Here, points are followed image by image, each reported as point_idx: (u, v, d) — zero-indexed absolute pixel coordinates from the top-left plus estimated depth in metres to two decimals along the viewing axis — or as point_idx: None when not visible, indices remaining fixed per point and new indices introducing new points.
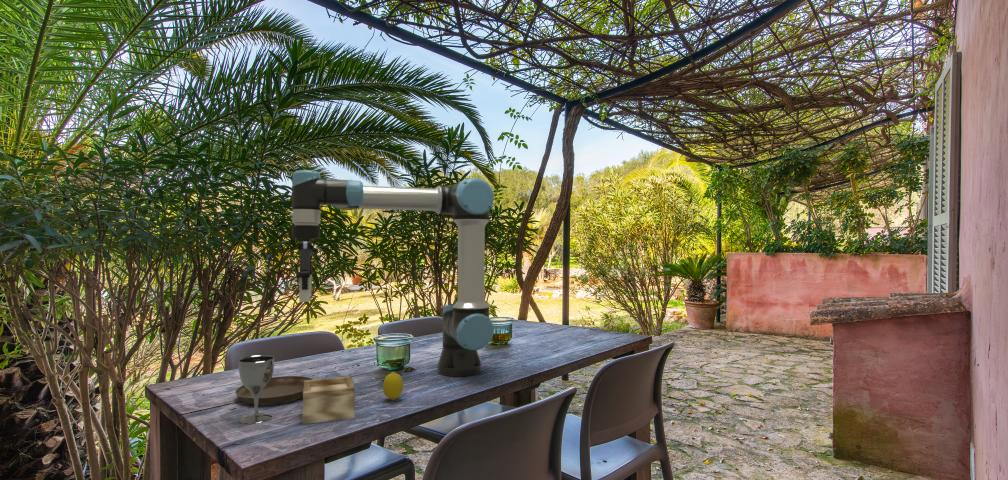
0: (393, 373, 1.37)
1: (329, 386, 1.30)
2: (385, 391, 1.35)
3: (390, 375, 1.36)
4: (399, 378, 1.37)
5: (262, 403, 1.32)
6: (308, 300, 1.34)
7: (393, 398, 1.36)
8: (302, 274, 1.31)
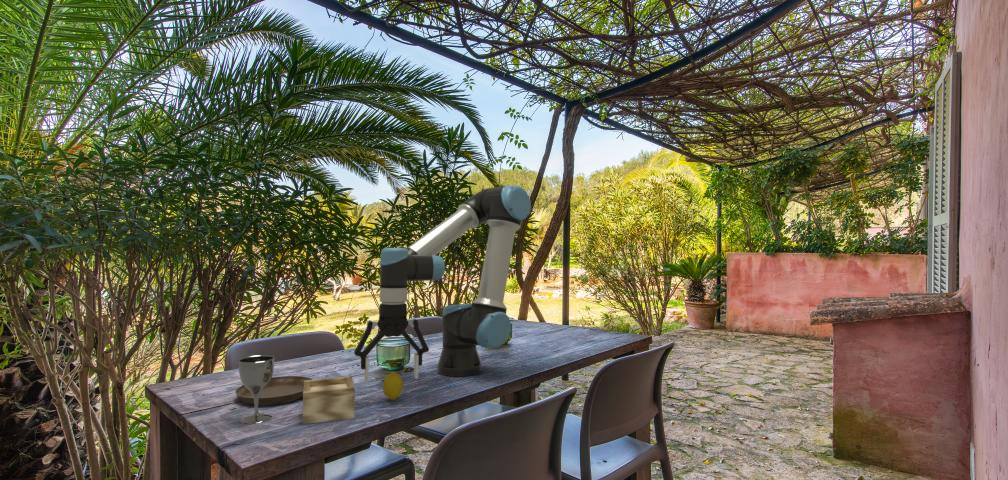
0: (393, 373, 1.37)
1: (329, 386, 1.30)
2: (385, 391, 1.35)
3: (390, 375, 1.36)
4: (399, 378, 1.37)
5: (263, 403, 1.32)
6: (365, 380, 1.34)
7: (393, 398, 1.36)
8: None
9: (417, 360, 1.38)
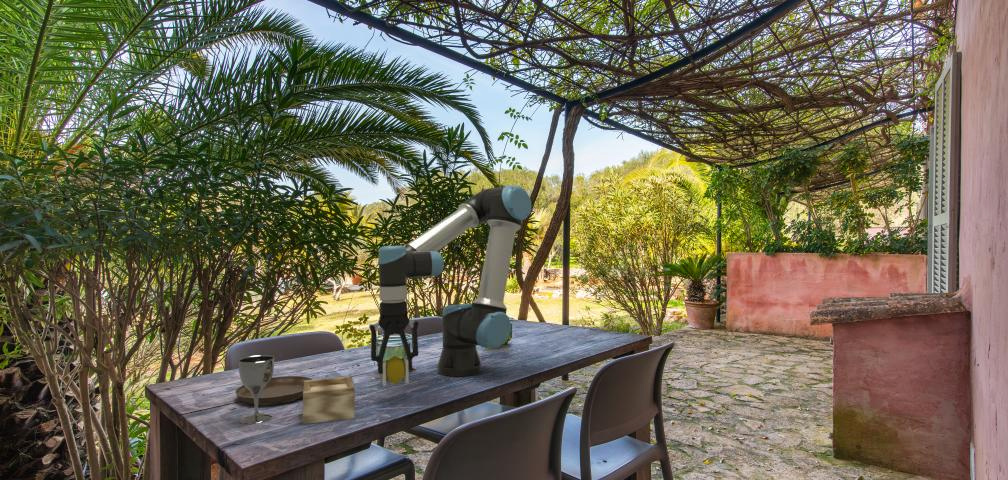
0: (395, 357, 1.37)
1: (329, 386, 1.30)
2: (387, 375, 1.36)
3: (392, 359, 1.37)
4: (401, 362, 1.37)
5: (263, 403, 1.32)
6: (383, 384, 1.36)
7: (395, 382, 1.37)
8: None
9: (407, 365, 1.38)
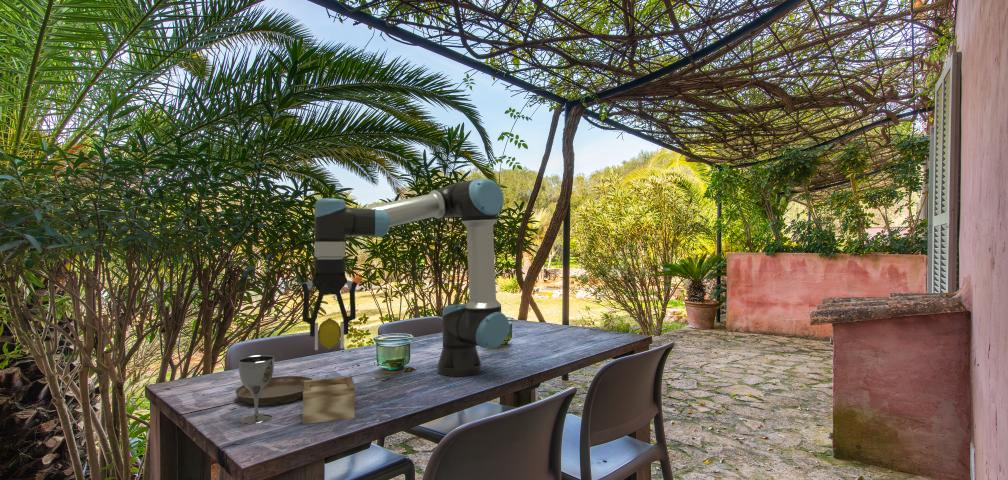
0: (329, 319, 1.27)
1: (329, 386, 1.30)
2: (319, 338, 1.25)
3: (326, 321, 1.26)
4: (335, 324, 1.26)
5: (262, 403, 1.32)
6: None
7: (329, 346, 1.26)
8: None
9: (342, 328, 1.27)
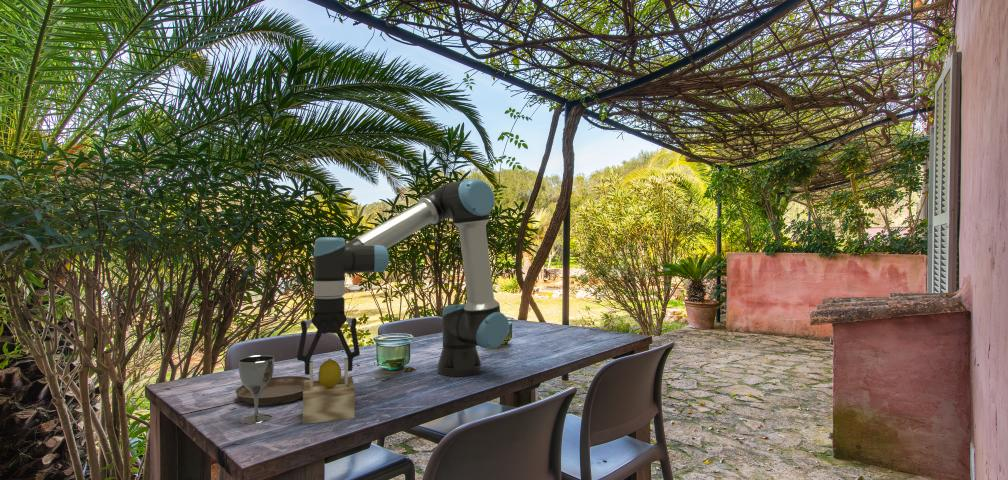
0: (330, 360, 1.27)
1: None
2: (320, 379, 1.25)
3: (326, 362, 1.26)
4: (336, 365, 1.26)
5: (262, 403, 1.32)
6: None
7: (329, 387, 1.26)
8: None
9: (346, 365, 1.27)
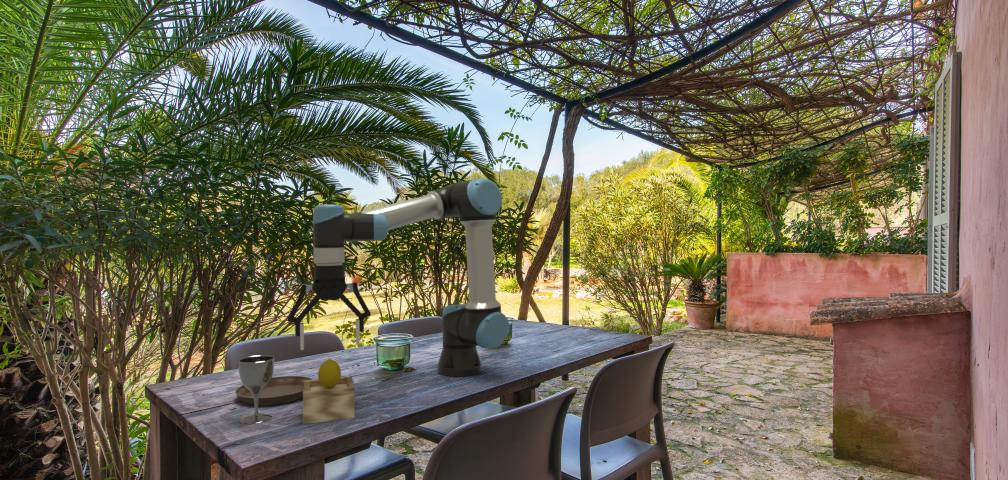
0: (329, 360, 1.26)
1: None
2: (320, 379, 1.25)
3: (326, 362, 1.26)
4: (336, 365, 1.26)
5: (262, 403, 1.32)
6: (300, 348, 1.24)
7: (329, 387, 1.26)
8: None
9: (358, 325, 1.28)
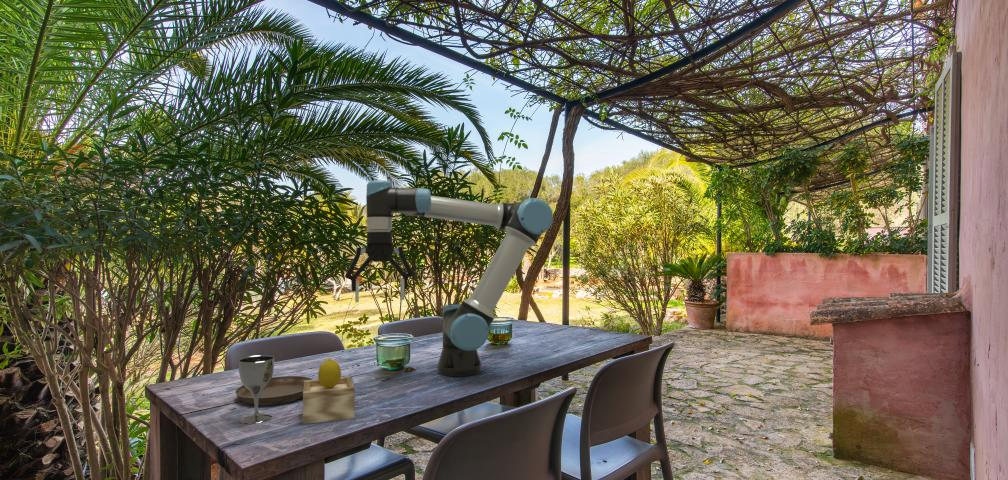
0: (329, 360, 1.26)
1: None
2: (320, 379, 1.25)
3: (326, 362, 1.26)
4: (336, 365, 1.26)
5: (262, 403, 1.32)
6: (355, 301, 1.47)
7: (329, 387, 1.26)
8: None
9: (403, 283, 1.52)
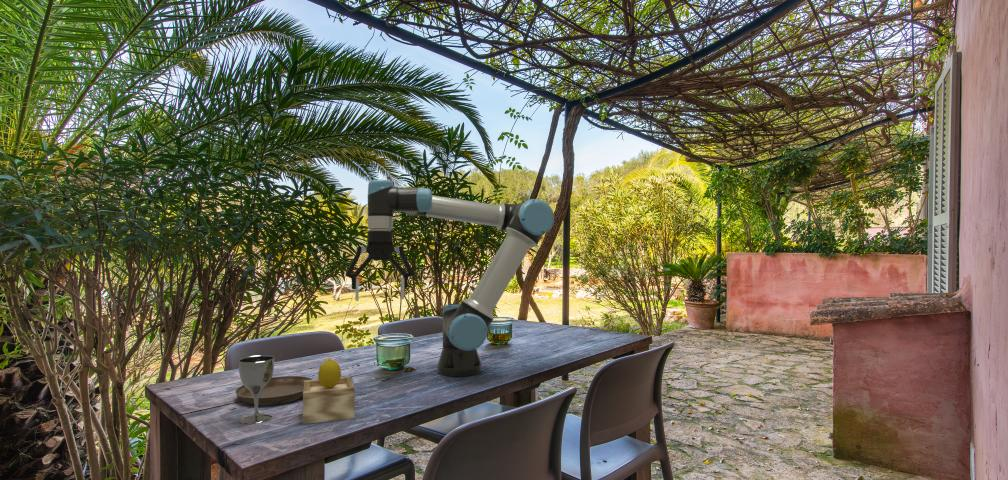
0: (329, 360, 1.26)
1: None
2: (320, 379, 1.25)
3: (326, 362, 1.26)
4: (336, 365, 1.26)
5: (262, 403, 1.32)
6: (355, 299, 1.48)
7: (329, 387, 1.26)
8: None
9: (403, 282, 1.52)
